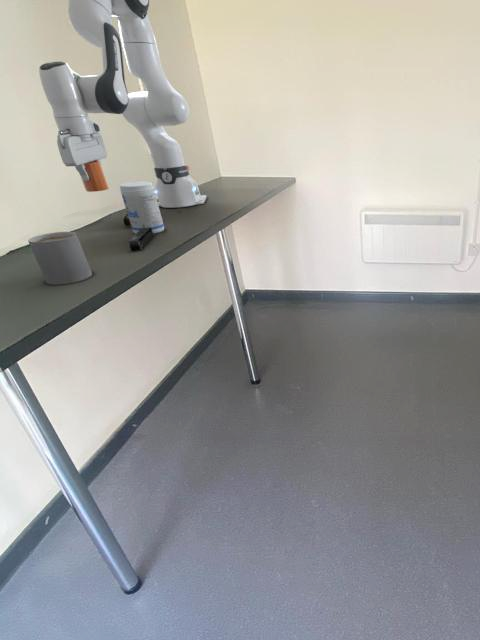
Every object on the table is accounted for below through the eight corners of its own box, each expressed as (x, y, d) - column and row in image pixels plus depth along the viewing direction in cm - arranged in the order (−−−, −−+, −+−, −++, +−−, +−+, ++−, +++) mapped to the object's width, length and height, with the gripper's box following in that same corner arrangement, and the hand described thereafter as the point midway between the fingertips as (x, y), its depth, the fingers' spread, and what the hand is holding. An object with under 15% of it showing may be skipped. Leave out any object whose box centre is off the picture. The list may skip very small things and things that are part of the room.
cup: (92, 188, 156) (82, 161, 152) (112, 187, 156) (102, 160, 152) (82, 192, 151) (71, 164, 146) (102, 191, 151) (92, 163, 146)
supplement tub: (127, 234, 156) (111, 185, 148) (149, 227, 163) (135, 180, 155) (150, 236, 153) (134, 186, 145) (172, 229, 160) (158, 181, 152)
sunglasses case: (151, 224, 165) (135, 207, 161) (136, 236, 166) (119, 220, 162) (160, 213, 180) (145, 198, 176) (146, 225, 181) (131, 209, 177)
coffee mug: (84, 282, 116) (68, 240, 111) (39, 286, 115) (20, 244, 109) (101, 266, 127) (86, 226, 122) (60, 269, 126) (43, 230, 120)
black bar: (140, 251, 139) (137, 240, 137) (131, 251, 138) (127, 241, 136) (154, 235, 153) (151, 226, 152) (146, 236, 153) (142, 226, 151)
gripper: (67, 130, 135) (86, 183, 143) (102, 124, 152) (117, 172, 160) (44, 131, 135) (65, 184, 143) (82, 125, 152) (98, 173, 160)
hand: (93, 178), depth 152 cm, fingers closed on cup, 6 cm apart
